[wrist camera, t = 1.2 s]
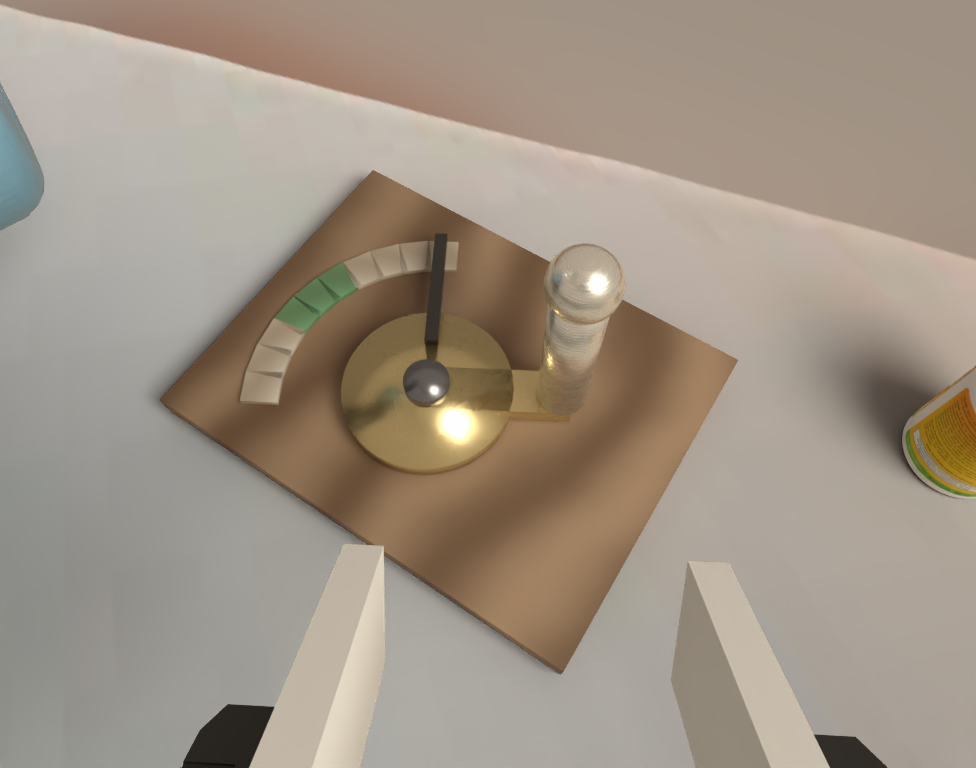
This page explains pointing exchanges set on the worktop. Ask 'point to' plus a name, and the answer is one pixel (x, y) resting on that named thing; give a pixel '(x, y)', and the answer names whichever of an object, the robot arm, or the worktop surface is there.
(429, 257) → the gauge board
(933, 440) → the supplement bottle
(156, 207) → the worktop surface
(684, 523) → the worktop surface
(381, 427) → the dial
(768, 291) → the worktop surface
